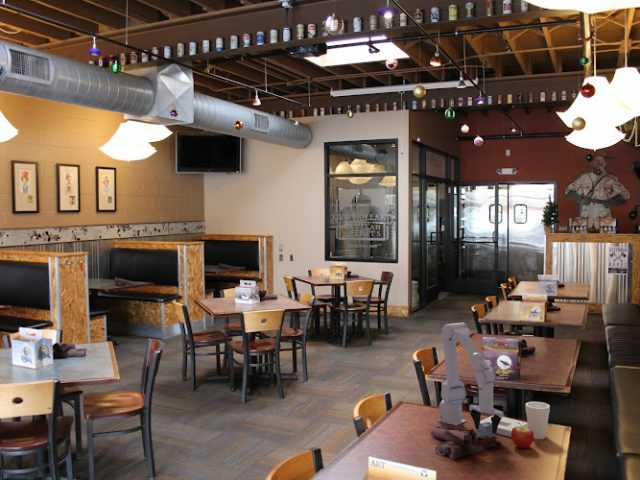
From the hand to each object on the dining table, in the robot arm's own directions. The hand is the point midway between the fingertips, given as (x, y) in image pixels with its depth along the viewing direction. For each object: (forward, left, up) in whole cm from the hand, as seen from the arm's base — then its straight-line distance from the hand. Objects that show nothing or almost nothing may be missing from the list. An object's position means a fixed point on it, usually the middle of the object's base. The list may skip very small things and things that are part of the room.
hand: (486, 430), depth 260 cm
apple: (+16, 0, -3) cm, 16 cm away
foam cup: (+15, +15, -3) cm, 21 cm away
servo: (0, 0, -3) cm, 3 cm away
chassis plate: (0, +14, -3) cm, 14 cm away
